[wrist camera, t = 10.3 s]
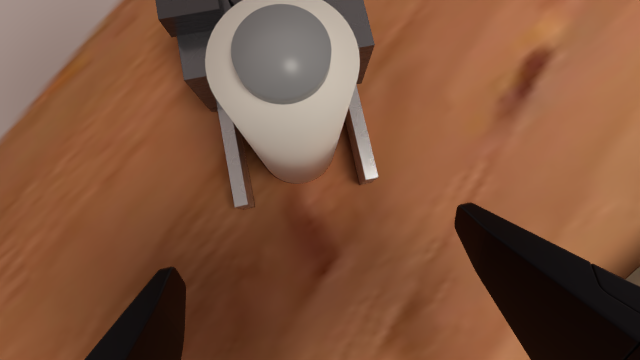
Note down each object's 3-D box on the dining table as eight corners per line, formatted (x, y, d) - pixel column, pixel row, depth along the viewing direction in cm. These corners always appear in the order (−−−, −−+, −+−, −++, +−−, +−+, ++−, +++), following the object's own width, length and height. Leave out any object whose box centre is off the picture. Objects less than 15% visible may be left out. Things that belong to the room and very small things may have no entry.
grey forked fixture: (384, 179, 22) (416, 159, 16) (224, 213, 22) (185, 207, 15) (340, -2, 24) (351, -89, 18) (192, 24, 24) (145, -56, 17)
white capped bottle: (305, 198, 22) (297, 161, 10) (245, 154, 23) (164, 63, 10) (348, 140, 23) (394, 35, 10) (290, 98, 23) (267, -52, 11)
